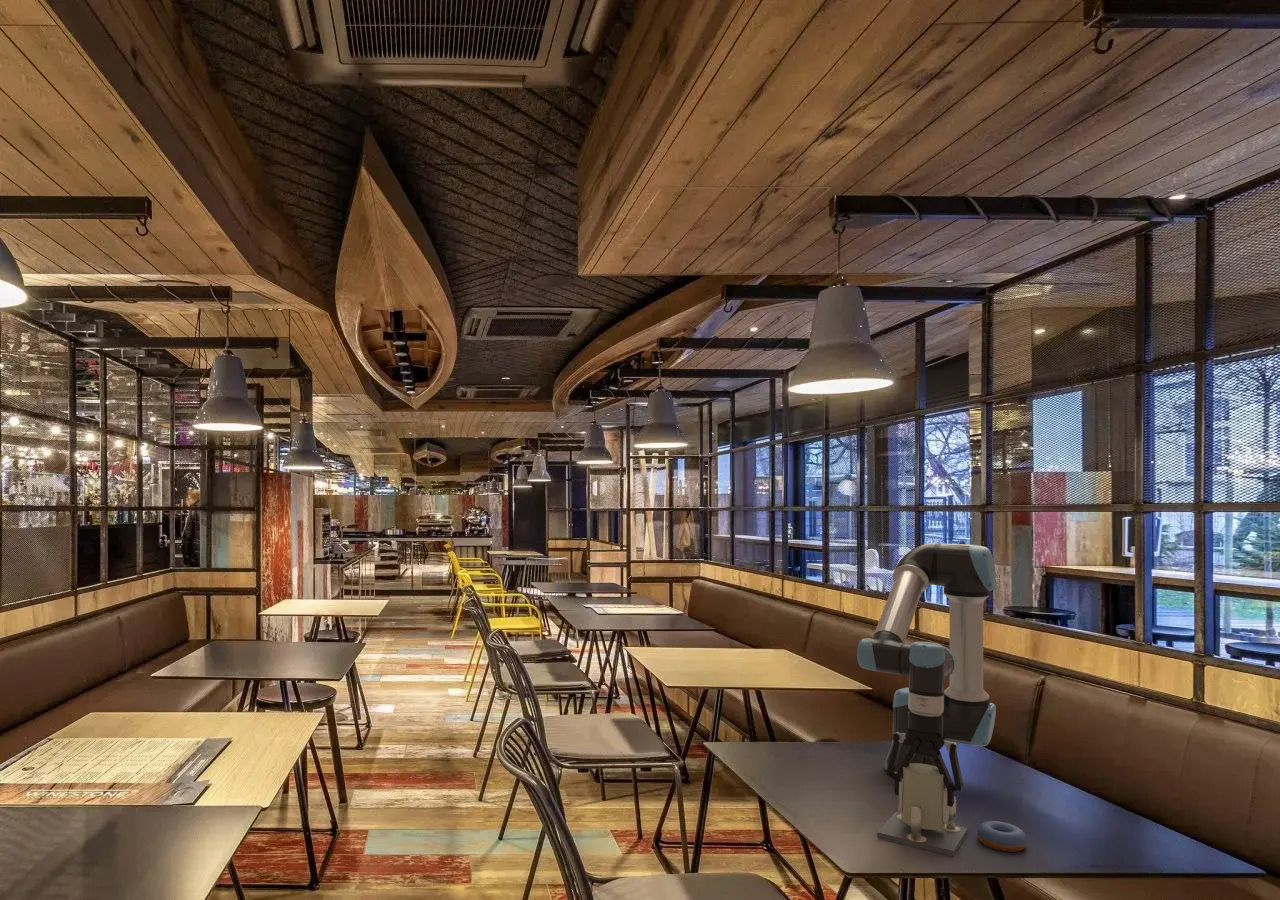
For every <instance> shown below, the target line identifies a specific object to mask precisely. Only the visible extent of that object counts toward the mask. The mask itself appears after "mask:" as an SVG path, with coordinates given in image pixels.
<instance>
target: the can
mask: <svg viewBox="0 0 1280 900" xmlns="http://www.w3.org/2000/svg"><path fill="white" fill-rule="evenodd" d="M943 777H944V775H943V774H940V772H939V770H938V768H937V767H936V766H932V765H928V764H920V763H910V764H909V766H908V767H907V768H906V767H903V778H902V779H903V812H901V813H902V820H903V822H905V823H906V824H908V825H910V826H911V812H912V805H918V806H921V829H927V830H938V829H942V828H944V827H945V823H946V822H943V791H944V790H945V789H946V786H945V784H944V782H943Z"/></svg>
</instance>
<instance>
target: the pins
mask: <svg viewBox="0 0 1280 900" xmlns="http://www.w3.org/2000/svg"><path fill="white" fill-rule="evenodd" d="M956 814H957V797H956V796H955V795H954V804H953V806H952V807H950V806H949V819H948V821H947V822H945V823H946V828H947V829H951V830H955V829H956V826H957V825H956V823H957V822H956V819H957V815H956ZM901 817H902V814H901ZM911 839H912V840H914V841H920V840H921V806H918V805H912V812H911Z"/></svg>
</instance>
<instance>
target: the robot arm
mask: <svg viewBox="0 0 1280 900" xmlns="http://www.w3.org/2000/svg"><path fill="white" fill-rule="evenodd" d="M996 572H997V571H996V566H995V561H994V557H993V554H992V552H991V550H990V549H989V548H988V547H987V546H983V545H975V544H966V543H965V544H964V543H963V544H961V543H960V544H959V543H938V542H929V543H924V544H920V545H918V546H917V547H914V548H912V549H911V550H910V551H908V552H907V553H906V554H905V555H904V556H902V557H901V559H900V560H899V561H898V563H897V564H896V566H895V567H894V570H893V573H892V580H893V584H892V585H891V586H892V587H891V589H890V591H889V593H888V597H887V600H886V601H885V605H884V607H883V610H882V612H881V615H880V617H879V620H878V624H877V626H876V628H875V631H874V633H873V636H872V637H869V638H866V637H865V638H861V639H860V640H859V643H858V645H857V650H856V651H857V652H856V657H857V663H858V665H859V667H860V668H862V669H864V670H868V671H874V672H878V673H879V672H880V673H887V674H895V675H903V676H908V687H902V688H900V689H897V690H896V691H895V692H894V695H893V704H892V711H893V712H892V740H891V745H890V747H889V750H888V753H887V756H886V758H885V762H884V765H885V767H884V769H885V771H886V776H887V777H891V778H892V779H893V780H894V795H895V796H896V795H897V796H898V811H897V812H899V813H902V812H903V767H906V768H907V767H908V766H909V764H910V763H920V764H928V765H932V766H936V767H937V768H938V770H939V772H940V774H943V775H944V777H943V782H944V784H945V790H944V791H943V822H945V823H946V822H947V821H948V819H949V806H950V807H952V806H953V804H954V796H955V792H956V791H958V792H960V791H962V789H963V788H964V782H963V776H962V773H961V772H962V771H961V767H960V762H959V758H958V748H959V744H963V745H969V746H970V747H971V746H976V747H985V746H988V745H989V743H990V742H991V740H992V736H993V732H994V729H995V728H994V727H995V721H996V714H997V707H996V706H997V705H996V704H995V703H993V702H990V694H988V692H986V690H985V689H984V602H985V601H986V600H987V599H988V598H989V597H990V592H991V591H994V590H995V589H996V585H997V579H996V578H997V575H996ZM932 585H933V586H941V587H943V594H944V596H946V597H947V599H949V648H948V647H946V646H944V645H942V644H941V643H938V642H933V641H914V642H912V643H907V642H905V641H906V639H907V635H908V633H909V631H910V629H911V628H910V627H911V624H912V622H913V619H914V616H915V613H916V610H917V607H918V606H919V605H918V604H919V601H920V599H921V596H922V593H923V592H925V591H926V590H927V589H928V587H929V586H932ZM947 678H949V685H948V687H946V689H944V688H945V679H947ZM958 743H959V744H958ZM943 746H944V747H945V748H946V749H945V750H946V751H947V752H948V757H949V761H950V766H951V771H952V772H951V773H952V776H953V779H952V776H951V774H950V771H949V770H948V768H947V766H946V763H945V761H944V759H943V755H942V752H941V749H942V748H943ZM953 780H954V781H953Z"/></svg>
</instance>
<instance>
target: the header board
mask: <svg viewBox="0 0 1280 900" xmlns="http://www.w3.org/2000/svg"><path fill="white" fill-rule="evenodd" d="M901 814H902V812H898V811H895V812H894V813H893V814H892V816H890V817H889V819H887V821H886V822H885V823H884V824H883V825H882V827H881V828H880V829H879V830H878V831H877V834H876V837H877V838H876V839H879V840H884V841H889V842H892V843H896V844H901V845H905V846H909V847H913V848H916V849H920V850H925V851H928V852H931V853H932V852H933V853H936V854H940V855H945V856H947V857H955V855H956V854H957V852H958V850H959V849H960V847H961V846H962V844H963V842H964V840H965V838H966V836H967V835H968V833H969V832H968V829H969V828H968V827H963V826H960V825H956V829H955V830H951V829H947V828H946V822H945V827H944V828H942V829H938V830H927V829H921V840H920V841H914V840H912V839H911V826H910V825H908V824H906V823H905V822H903V820H902V817H901Z"/></svg>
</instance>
